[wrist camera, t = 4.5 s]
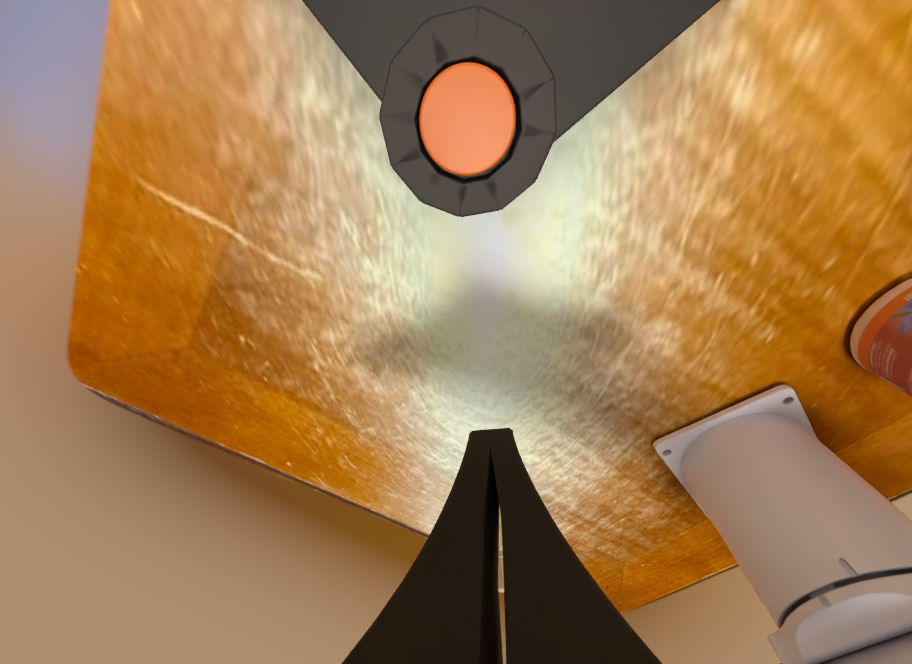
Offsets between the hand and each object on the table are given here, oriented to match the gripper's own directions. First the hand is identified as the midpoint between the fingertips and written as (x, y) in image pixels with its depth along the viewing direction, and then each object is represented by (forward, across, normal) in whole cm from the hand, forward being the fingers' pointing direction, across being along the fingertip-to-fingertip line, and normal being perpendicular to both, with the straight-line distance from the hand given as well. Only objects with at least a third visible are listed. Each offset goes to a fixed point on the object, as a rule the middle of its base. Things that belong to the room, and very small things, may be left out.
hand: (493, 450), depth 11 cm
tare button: (+6, 0, -10) cm, 11 cm away
